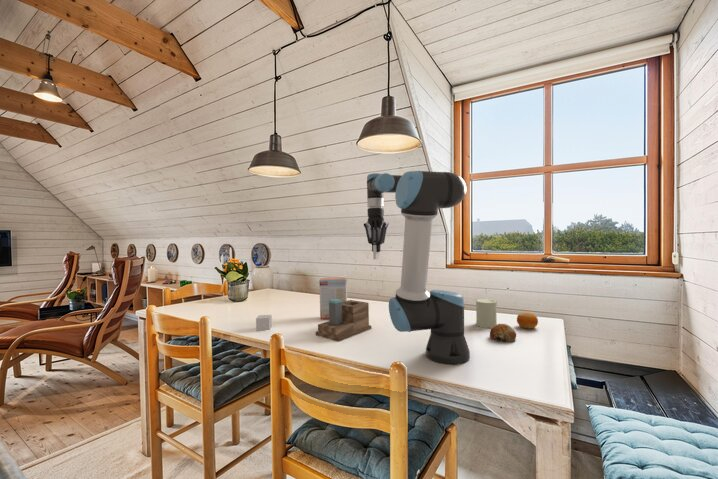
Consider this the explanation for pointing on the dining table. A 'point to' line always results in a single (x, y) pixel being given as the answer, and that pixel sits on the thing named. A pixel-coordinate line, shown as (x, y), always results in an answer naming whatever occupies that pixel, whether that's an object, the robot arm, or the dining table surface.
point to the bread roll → (502, 333)
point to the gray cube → (263, 322)
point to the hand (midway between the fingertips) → (376, 259)
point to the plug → (335, 312)
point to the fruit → (527, 320)
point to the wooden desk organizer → (347, 322)
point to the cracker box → (331, 293)
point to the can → (486, 313)
